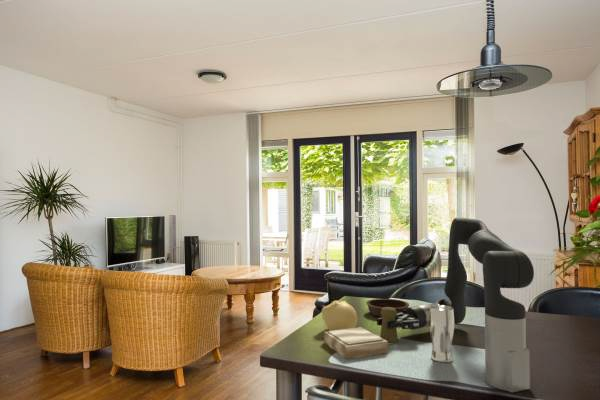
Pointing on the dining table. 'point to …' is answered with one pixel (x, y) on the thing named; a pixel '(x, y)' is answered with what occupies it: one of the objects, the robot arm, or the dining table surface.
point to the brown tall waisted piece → (386, 334)
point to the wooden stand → (355, 342)
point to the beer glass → (441, 332)
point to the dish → (386, 305)
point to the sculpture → (339, 316)
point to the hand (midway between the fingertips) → (382, 323)
